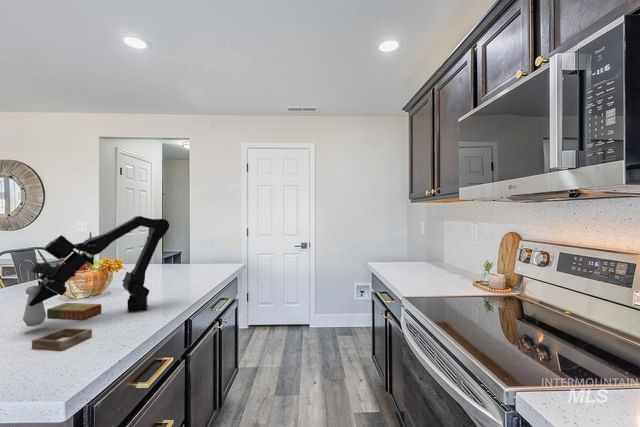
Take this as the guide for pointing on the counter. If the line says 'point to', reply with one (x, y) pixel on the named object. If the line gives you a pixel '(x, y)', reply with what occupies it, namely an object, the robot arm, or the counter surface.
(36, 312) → the salt shaker
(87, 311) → the carton
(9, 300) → the counter surface
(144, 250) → the robot arm
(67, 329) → the walnut frame
